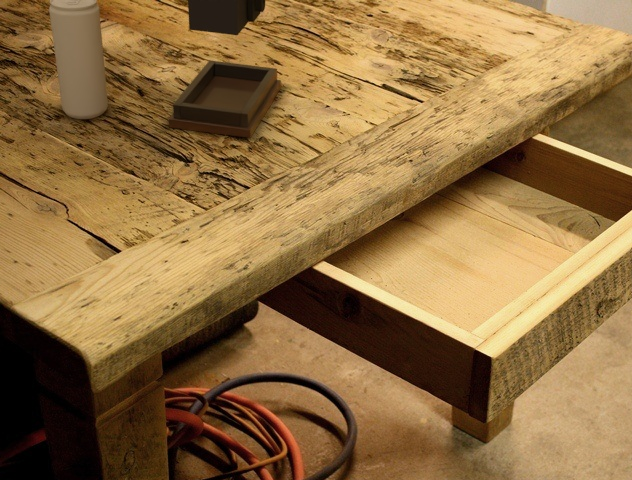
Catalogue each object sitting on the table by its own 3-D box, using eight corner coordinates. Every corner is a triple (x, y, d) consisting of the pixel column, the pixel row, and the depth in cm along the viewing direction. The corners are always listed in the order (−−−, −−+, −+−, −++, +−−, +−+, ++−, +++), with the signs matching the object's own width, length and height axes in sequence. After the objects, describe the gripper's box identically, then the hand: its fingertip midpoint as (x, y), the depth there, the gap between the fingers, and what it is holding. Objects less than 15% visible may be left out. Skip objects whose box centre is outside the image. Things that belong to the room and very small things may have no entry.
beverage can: (112, 103, 101) (102, -7, 94) (103, 122, 97) (93, 9, 90) (67, 101, 101) (54, -9, 94) (57, 120, 97) (42, 7, 90)
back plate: (250, 138, 96) (250, 116, 95) (168, 127, 97) (167, 105, 96) (281, 88, 107) (281, 67, 106) (207, 78, 108) (207, 58, 107)
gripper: (120, -179, 84) (135, 17, 94) (304, -162, 82) (299, 36, 92) (149, -191, 90) (160, -6, 100) (321, -175, 88) (314, 12, 98)
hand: (227, 12), depth 96 cm, fingers closed on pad, 5 cm apart
